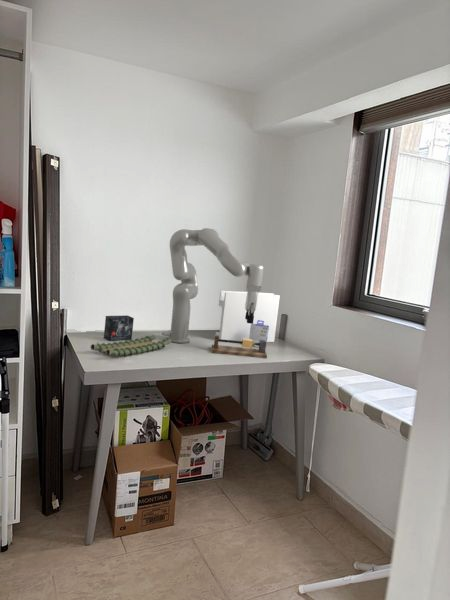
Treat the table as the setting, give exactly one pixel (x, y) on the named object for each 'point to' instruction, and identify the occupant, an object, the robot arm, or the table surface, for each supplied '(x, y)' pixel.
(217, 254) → the robot arm
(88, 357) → the table surface
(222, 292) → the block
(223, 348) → the cord board
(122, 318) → the small box
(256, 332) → the ink cartridge box
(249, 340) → the sleeve
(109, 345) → the olive green bumpy strip
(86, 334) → the table surface
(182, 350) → the table surface
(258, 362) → the table surface
